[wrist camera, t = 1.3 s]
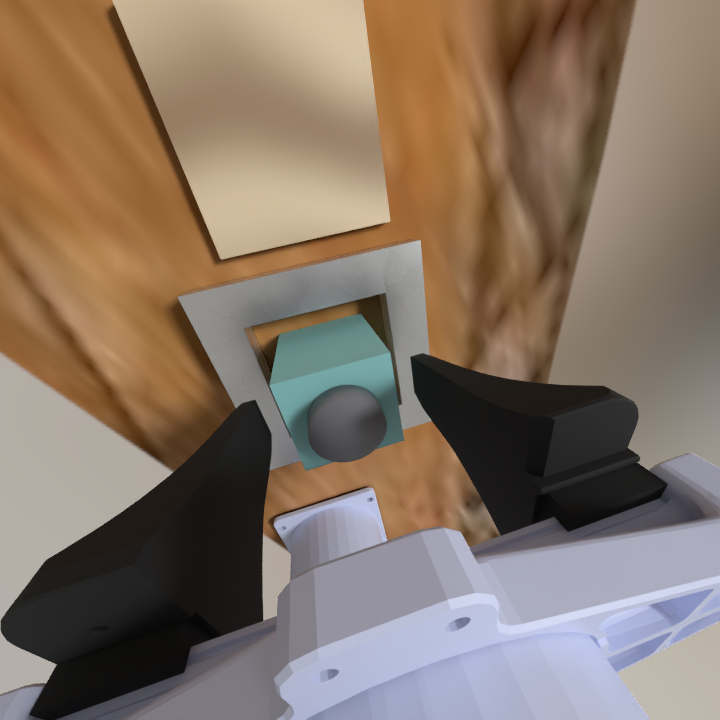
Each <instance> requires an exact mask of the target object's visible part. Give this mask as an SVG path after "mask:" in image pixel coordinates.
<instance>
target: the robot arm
mask: <svg viewBox="0 0 720 720" xmlns="http://www.w3.org/2000/svg"><path fill="white" fill-rule="evenodd" d="M410 360H411V369H412V377H413V386H414V393H415V395H416V397H417V398H418V400H419V402H420V404H421V406H422V408H423V409H424V411H425V412H426V413H427V415H428V416H429V417H430V419H431V420H432V422H433V423H434V424H435V426H436V427H437V428H438V430H439V431H440V432H441V434H442V435H443V436H444V438H445V439H446V440H447V442H448V443H449V444H450V446H451V447H452V449H453V450H454V452H455V453H456V455H457V456H458V458H459V460H460V462H461V463H462V465H463V467H464V468H465V470H466V472H467V473H468V475H469V477H470V479H471V481H472V482H473V484H474V486H475V488H476V489H477V491H478V493H479V495H480V497H481V499H482V500H483V502H484V504H485V506H486V508H487V510H488V512H489V513H490V515H491V517H492V519H493V521H494V523H495V525H496V527H497V529H498V531H499V533H500V535H501V536H499V537H496V538H494V539H491V540H488V541H485V542H482V543H480V544H477V545H474V546H471V547H468V545H467V543H466V541H465V539H464V537H463V536H462V534H461V532H459V531H456V530H452V529H448V528H444V527H440V526H438V527H433V528H427V529H422V530H417V531H414V532H412V533H409V534H406V535H403V536H400V537H397V538H394V539H391V540H388V541H387V538H386V534H385V531H384V527H383V523H382V519H381V515H380V511H379V508H378V504H377V500H376V496H375V492H374V490H373V488H369V487H368V488H365V489H361V490H358V491H355V492H352V493H349V494H346V495H343V496H340V497H337V498H334V499H331V500H327V501H324V502H321V503H318V504H315V505H312V506H309V507H306V508H303V509H300V510H296V511H293V512H290V513H287V514H284V515H281V516H278V517H276V518H275V519H274V527H275V529H276V531H277V532H278V534H279V536H280V537H281V539H282V541H283V542H284V544H285V546H286V547H287V549H288V551H289V552H290V554H291V579H290V580H291V581H290V582H289V584H288V585H287V586H286V587H285V588H284V590H283V591H282V592H281V593H280V595H279V596H278V609H277V616H276V617H273V618H270V619H267V620H265V621H263V599H262V547H263V546H262V545H263V516H264V505H265V497H266V491H267V484H268V477H269V470H270V463H271V455H272V434H271V432H270V429H269V427H268V425H267V423H266V421H265V419H264V417H263V415H262V413H261V410H260V408H259V406H258V404H257V402H256V400H252V401H248V402H244V403H241V404H240V405H239V406H238V407H237V408H236V409H235V410H234V411H233V412H232V414H231V415H230V416H229V417H228V418H227V419H226V420H225V421H224V422H223V424H222V425H221V426H220V427H219V428H218V429H217V430H216V431H215V432H214V434H213V435H212V436H211V437H210V438H209V439H208V440H207V441H206V442H205V443H204V444H203V445H202V446H201V447H200V448H199V449H198V450H197V451H196V452H195V453H194V454H193V455H192V456H191V457H190V458H189V459H188V460H187V461H186V462H185V463H184V464H182V465H181V466H180V467H179V468H178V469H177V470H176V471H174V472H173V473H172V474H171V475H170V476H169V477H167V478H166V479H165V480H164V481H162V482H161V483H160V484H159V485H157V486H156V487H155V488H154V489H152V490H151V491H150V492H149V493H147V494H146V495H145V496H143V497H142V498H141V499H140V500H138V501H137V502H135V503H134V504H133V505H131V506H130V507H128V508H127V509H126V510H124V511H123V512H121V513H120V514H118V515H117V516H115V517H114V518H112V519H111V520H110V521H108V522H107V523H105V524H104V525H102V526H101V527H99V528H97V529H96V530H94V531H93V532H91V533H90V534H88V535H86V536H85V537H83V538H81V539H80V540H78V541H77V542H75V543H73V544H72V545H70V546H69V547H67V548H66V549H64V550H62V551H61V552H59V553H57V554H56V555H54V556H52V557H50V558H49V559H47V560H46V561H45V562H44V563H43V565H42V566H41V568H40V569H39V570H38V571H37V573H36V574H35V575H34V577H33V578H32V580H31V581H30V582H29V583H28V585H27V586H26V587H25V589H24V590H23V591H22V592H21V594H20V595H19V597H18V598H17V599H16V600H15V602H14V603H13V604H12V605H11V607H10V608H9V609H8V611H7V612H6V614H5V615H4V617H3V618H2V619H1V632H2V634H3V636H4V637H5V638H6V640H7V641H9V642H10V643H12V644H13V645H15V646H17V647H19V648H21V649H23V650H26V651H28V652H30V653H32V654H35V655H37V656H39V657H41V658H44V659H46V660H48V661H51V662H53V663H55V664H57V666H56V668H55V669H54V671H53V673H52V674H51V676H50V678H49V680H48V682H47V683H46V684H44V683H41V684H32V685H27V686H24V687H21V688H18V689H15V690H12V691H9V692H6V693H4V694H1V695H0V720H650V719H649V717H648V716H647V715H646V713H645V712H644V710H643V709H642V708H641V706H640V705H639V703H638V702H637V701H636V699H635V698H634V696H633V695H632V694H631V692H630V691H629V689H628V688H627V687H626V685H625V684H624V683H623V681H622V680H621V678H620V677H619V676H618V674H617V673H618V672H620V671H622V670H624V669H626V668H628V667H630V666H632V665H634V664H636V663H638V662H640V661H642V660H644V659H646V658H648V657H650V656H652V655H654V654H656V653H658V652H660V651H662V650H664V649H666V648H668V647H670V646H672V645H674V644H676V643H678V642H680V641H682V640H684V639H686V638H688V637H690V636H692V635H694V634H696V633H698V632H700V631H702V630H704V629H706V628H708V627H710V626H712V625H714V624H716V623H718V622H720V468H718V467H717V466H715V465H713V464H712V463H710V462H708V461H706V460H704V459H703V458H701V457H699V456H697V455H696V454H694V453H686V454H684V455H681V456H678V457H675V458H672V459H669V460H667V461H664V462H661V463H659V464H657V465H655V466H654V467H653V468H651V469H650V470H649V471H648V470H647V469H645V468H644V467H643V466H641V465H640V464H638V463H637V462H639V460H640V457H639V455H637V454H635V453H634V452H633V451H631V450H630V449H628V448H627V447H628V445H629V442H630V440H631V437H632V435H633V433H634V430H635V428H636V425H637V421H638V408H637V406H636V404H635V403H634V401H632V400H630V399H628V398H626V397H624V396H622V395H620V394H618V393H617V392H615V391H613V390H611V389H609V388H607V387H605V386H574V385H554V384H542V383H532V382H525V381H518V380H511V379H506V378H501V377H496V376H492V375H487V374H483V373H480V372H476V371H473V370H469V369H466V368H463V367H460V366H457V365H454V364H452V363H449V362H446V361H443V360H441V359H438V358H436V357H433V356H430V355H427V354H424V353H421V354H417V355H414V356H410Z"/></svg>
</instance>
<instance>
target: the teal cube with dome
mask: <svg viewBox="0 0 720 720" xmlns="http://www.w3.org/2000/svg"><path fill="white" fill-rule="evenodd" d="M269 386H270V388H271V390H272V393H273V395H274V397H275V400H276V402H277V404H278V407H279V409H280V411H281V414H282V416H283V418H284V421H285V423H286V425H287V428H288V430H289V432H290V435H291V437H292V439H293V442H294V444H295V447H296V449H297V451H298V454H299V456H300V458H301V461H302V463H303V465H304V468H305V470H306V471H307V470H310V469H313V468H316V467H320V466H323V465H326V464H329V463H332V462H350V461H354V460H358V459H361V458H363V457H365V456H367V455H368V454H370V453H371V452H373V451H374V450H375V449H378V448H381V447H384V446H387V445H391V444H394V443H397V442H400V441H404V437H403V431H402V424H401V418H400V411H399V405H398V399H397V392H396V386H395V380H394V373H393V367H392V361H391V354H390V351H389V350H388V349H387V347H386V346H385V345H384V343H383V342H382V341H381V340H380V338H379V337H378V336H377V334H376V333H375V332H374V330H373V329H372V328H371V326H370V325H369V324H368V322H367V321H366V320H365V319H364V317H363V316H362V315H361V313H360V314H356V315H352V316H348V317H344V318H340V319H336V320H332V321H328V322H325V323H321V324H317V325H313V326H309V327H305V328H301V329H297V330H293V331H290V332H286V333H282V334H279V339H278V344H277V349H276V354H275V359H274V364H273V369H272V374H271V380H270V385H269Z"/></svg>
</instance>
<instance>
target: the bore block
mask: <svg viewBox="0 0 720 720" xmlns="http://www.w3.org/2000/svg"><path fill="white" fill-rule="evenodd" d="M378 294H379V298H380V304H381V311H382V317H383V323H384V329H385V335H386V342H387V348H388V350H389V351H390V354H391V361H392V367H393V373H394V380H395V386H396V392H397V399H398V405H399V411H400V418H401V424H402V430H403V429H407V428H410V427H413V426H417V425H420V424H423V423H426V422H430V421H432V420H431V419H430V417H429V416H428V415H427V413H426V412H425V411H424V409H423V408H422V406H421V404H420V402H419V400H418V398H417V397H416V395H415V393H414V386H413V377H412V369H411V360H410V356H414V355H417V354H421V353H424V354H427V355H429V343H428V330H427V317H426V305H425V292H424V279H423V267H422V254H421V241H420V240H412V239H408V240H403V241H399V242H395V243H391V244H386V245H382V246H378V247H373V248H369V249H365V250H361V251H356V252H352V253H348V254H343V255H339V256H335V257H330V258H326V259H322V260H318V261H313V262H309V263H305V264H300V265H296V266H292V267H288V268H283V269H279V270H275V271H270V272H266V273H262V274H257V275H253V276H249V277H245V278H240V279H236V280H232V281H227V282H223V283H219V284H215V285H210V286H206V287H202V288H197V289H193V290H190V291H188V292H186V293H184V294H182V295H180V296H178V299H179V301H180V303H181V305H182V307H183V309H184V311H185V312H186V314H187V316H188V318H189V320H190V322H191V324H192V326H193V328H194V330H195V331H196V333H197V335H198V337H199V339H200V341H201V343H202V345H203V347H204V349H205V351H206V352H207V354H208V356H209V358H210V360H211V362H212V364H213V366H214V368H215V370H216V371H217V373H218V375H219V377H220V379H221V381H222V383H223V385H224V387H225V389H226V391H227V392H228V394H229V396H230V398H231V400H232V402H233V404H234V406H235V408H237V407H238V406H239V405H240V404H241V403H244V402H248V401H252V400H256V402H257V404H258V406H259V408H260V410H261V413H262V415H263V417H264V419H265V421H266V423H267V425H268V427H269V429H270V432H271V434H272V455H271V463H270V470H272V469H276V468H279V467H282V466H286V465H289V464H292V463H295V462H299V461H301V458H300V456H299V454H298V451H297V449H296V447H295V444H294V442H293V439H292V437H291V435H290V432H289V430H288V428H287V425H286V423H285V421H284V418H283V416H282V414H281V411H280V409H279V407H278V404H277V402H276V400H275V397H274V395H273V393H272V390H271V388H270V386H269V385H270V380H271V372H270V370H269V367H268V365H267V362H266V360H265V357H264V355H263V353H262V350H261V348H260V345H259V343H258V341H257V338H256V336H255V333H254V331H253V328H252V326H255V325H259V324H263V323H267V322H271V321H275V320H279V319H283V318H287V317H291V316H295V315H299V314H303V313H307V312H311V311H315V310H319V309H323V308H327V307H331V306H335V305H339V304H343V303H347V302H351V301H355V300H359V299H363V298H367V297H371V296H374V295H378Z"/></svg>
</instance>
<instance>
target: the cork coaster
mask: <svg viewBox="0 0 720 720" xmlns="http://www.w3.org/2000/svg"><path fill="white" fill-rule="evenodd" d="M112 1H113V3H114V6H115V8H116V10H117V13H118V15H119V18H120V20H121V22H122V25H123V27H124V29H125V32H126V34H127V37H128V39H129V41H130V44H131V46H132V49H133V51H134V53H135V56H136V58H137V61H138V63H139V65H140V68H141V70H142V72H143V75H144V77H145V80H146V82H147V84H148V87H149V89H150V92H151V94H152V96H153V99H154V101H155V104H156V106H157V108H158V111H159V113H160V115H161V118H162V120H163V123H164V125H165V127H166V130H167V132H168V135H169V137H170V139H171V142H172V144H173V147H174V149H175V151H176V154H177V156H178V158H179V161H180V163H181V166H182V168H183V170H184V173H185V175H186V178H187V180H188V182H189V185H190V187H191V190H192V192H193V194H194V197H195V199H196V201H197V204H198V206H199V209H200V211H201V213H202V216H203V218H204V221H205V223H206V225H207V228H208V230H209V232H210V235H211V237H212V240H213V242H214V244H215V247H216V249H217V252H218V254H219V256H220V259H226V258H230V257H235V256H239V255H244V254H248V253H252V252H257V251H261V250H266V249H270V248H275V247H279V246H284V245H288V244H293V243H297V242H301V241H306V240H310V239H315V238H319V237H324V236H328V235H333V234H337V233H342V232H346V231H350V230H355V229H359V228H364V227H368V226H373V225H377V224H382V223H386V222H390V214H389V206H388V198H387V190H386V182H385V174H384V166H383V158H382V150H381V142H380V134H379V126H378V118H377V110H376V102H375V93H374V85H373V77H372V69H371V61H370V53H369V45H368V37H367V29H366V21H365V13H364V5H363V0H112Z"/></svg>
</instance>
